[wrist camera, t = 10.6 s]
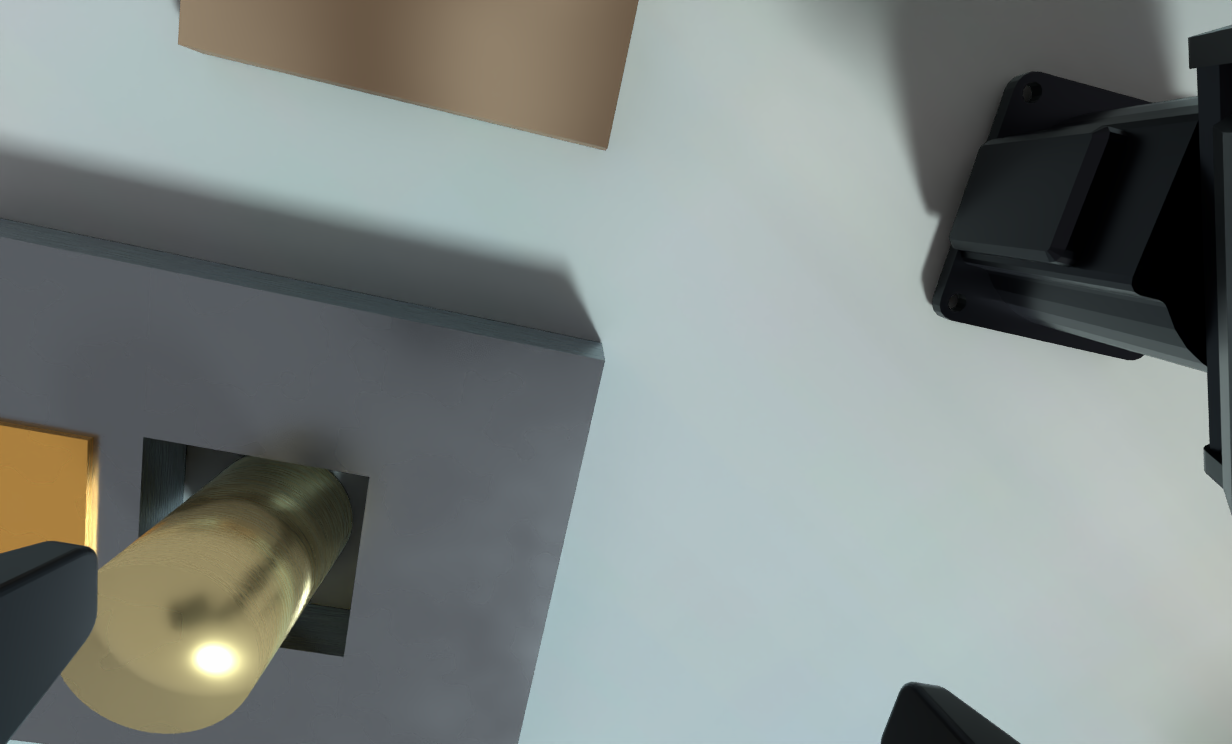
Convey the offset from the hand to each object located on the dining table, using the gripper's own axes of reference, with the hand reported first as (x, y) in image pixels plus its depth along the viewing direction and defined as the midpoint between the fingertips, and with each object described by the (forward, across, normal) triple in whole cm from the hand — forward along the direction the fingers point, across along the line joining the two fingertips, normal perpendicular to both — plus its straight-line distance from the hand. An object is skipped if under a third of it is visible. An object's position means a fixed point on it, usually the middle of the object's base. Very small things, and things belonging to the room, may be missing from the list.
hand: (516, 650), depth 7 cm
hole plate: (+11, +7, +6) cm, 15 cm away
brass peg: (+12, +7, +6) cm, 15 cm away
